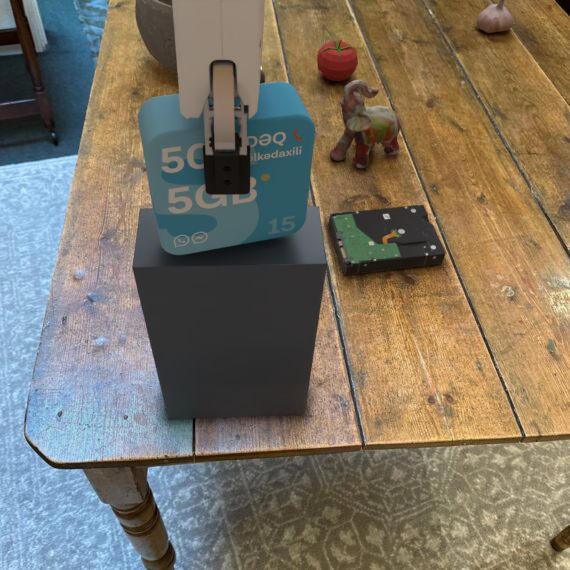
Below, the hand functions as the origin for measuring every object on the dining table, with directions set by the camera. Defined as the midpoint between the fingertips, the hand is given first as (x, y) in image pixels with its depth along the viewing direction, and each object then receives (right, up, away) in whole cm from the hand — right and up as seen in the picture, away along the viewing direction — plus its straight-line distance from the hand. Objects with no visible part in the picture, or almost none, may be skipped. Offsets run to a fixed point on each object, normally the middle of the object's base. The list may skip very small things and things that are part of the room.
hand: (227, 162), depth 45 cm
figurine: (+18, +12, +56) cm, 60 cm away
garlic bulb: (+50, +47, +86) cm, 110 cm away
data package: (0, -5, +6) cm, 7 cm away
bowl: (-13, +35, +73) cm, 82 cm away
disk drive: (+19, -4, +44) cm, 48 cm away
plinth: (-2, -22, +27) cm, 35 cm away
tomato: (+14, +31, +72) cm, 79 cm away
